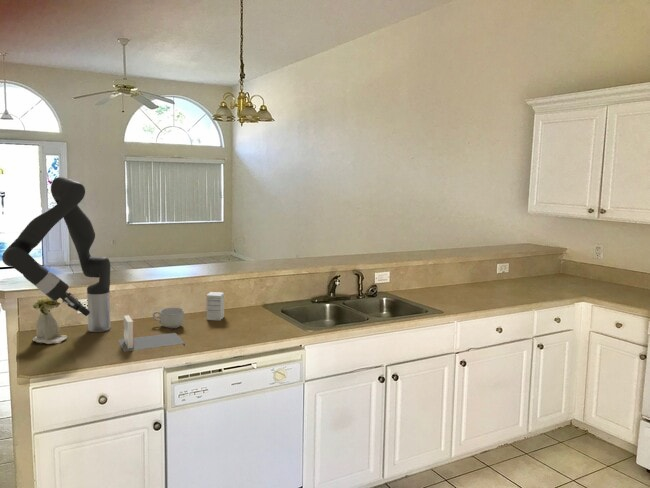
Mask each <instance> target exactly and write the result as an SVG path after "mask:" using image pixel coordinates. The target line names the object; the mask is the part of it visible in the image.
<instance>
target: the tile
mask: <svg viewBox="0 0 650 488" xmlns="http://www.w3.org/2000/svg"><path fill="white" fill-rule="evenodd" d="M134 338H135V321H134V320H133V318H132V317H131V315H129V314H127V315H123V339H124V342H125V344H126V346H127V348H133V347H134Z"/></svg>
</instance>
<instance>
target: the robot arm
mask: <svg viewBox="0 0 650 488" xmlns="http://www.w3.org/2000/svg"><path fill="white" fill-rule="evenodd" d="M50 192H51V196H52V198H53V200H54V202H55V205H54V206H53V207H51V208H50V209H48V210H47V211H46V212H45V211H44V212H43V213H41V214H39V215H38V216H36V217H34V218H33V219H32V220H31V221H29V223H28V224H27V225H26V226H25V227H24V229H22V231H21V232H20V234H19V235H18V237H17V238H16V239H14V241H13V242H12V243H11V244H9V246H8V247H7V248H6V249H5V250H4V252H3V253H2V257H1V260H2V262H3V263H4V265H6V266H7V267H9V268H10V267H11V268H13V269H15V270H16V271H17V272H19V273H20V274H21V275H23V277H24V278H25V280H27V281H28V282H30V283H31V284H32V285H33V286H35V287H36V288H37V289H38V290H39V291H40V292H41V293H42V294H44V295H45V296H47V298H51V299H52V300H53V301H56V300H57V301H59V300H60V299H61V301H62V302H61V303H62V304H65V305H67V307H69V308H71V309H73V310H75V311H77V312H80V314H82V315H84V316H85V317H87V327H88V328H87V330H88V332H90V333H103V332H107V331H110V329H111V301H110V298H111V295H110V288H111V261H110V259H109V258H108V257H106V256H92V255H91V253H90V250H91V247H92V245H93V243H94V242H95V238H96V232H95V230H94V229H95V228H94V226H93V224H92V222H91V220H90V218H89V216H87V214H86V213H85V212H84V211H83V210H82V208H81V207H80V206H79V204H80V203H81V202H82V201H83V199H84V197H85V194H86V187H85V186H84V185H83V184H82V183H80V182H79V181H77V180H73V179H71V178H69V177H65V176H58V177H55V178H54V179H53V180H52V182H51V183H50ZM62 219H64V222H65V225H66V228H67V230H68V233H69V235H70V238H71V240H72V243H73V244H74V247H75V251H76V253H77V256H78V260H79V264H80V267H81V271H82V273H83V275H84V276H85V277H87V278H94V279H95V278H98V282H96V283H94V284H90V285H88V286H87V288H86V295H87V296H86V297H87V298H86V299H87V300H86V301H87V308H86V307H85V306H84V305H83V304H82V302H81V301H79V299H78V298H77V297H75V296H74V293H71V292H67V291H68V290H69V288H70V286H69V285H68V284H67V283H66V282H65V281H64V280H62V279H61V278H59V277H58V276H57V275H55V274H54V273H52V272H51V271H49V270H48V269H47V268H45V267H44V266H43V265H42V264H40V263H39V262H38V261H36V260H35V258H33V256H31V254H30V253H31V252H32V250H33V249H35V248H36V247H37V246H38V245H40V243H41V242H42V240H43V239H44V238H45V237H46V236H47V235H48V233H49V232H50V231H51V230H52V229H53V228H54V227H55V225H57V224H58V223H59V222H60V221H61V220H62Z"/></svg>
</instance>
